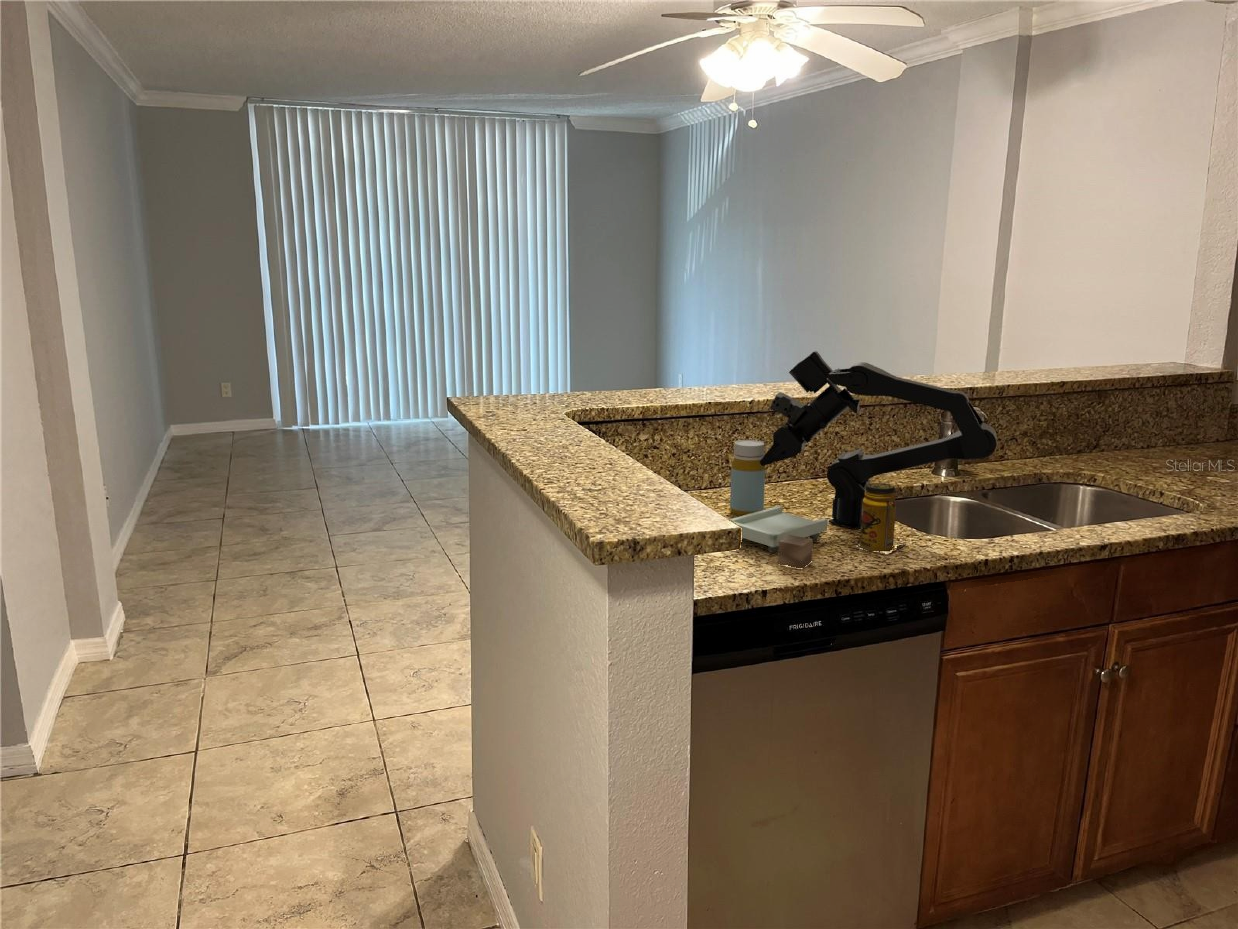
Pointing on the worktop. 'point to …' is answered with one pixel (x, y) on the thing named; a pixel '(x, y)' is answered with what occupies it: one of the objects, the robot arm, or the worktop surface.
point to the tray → (777, 527)
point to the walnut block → (795, 551)
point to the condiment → (878, 518)
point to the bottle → (747, 478)
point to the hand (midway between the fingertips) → (765, 459)
